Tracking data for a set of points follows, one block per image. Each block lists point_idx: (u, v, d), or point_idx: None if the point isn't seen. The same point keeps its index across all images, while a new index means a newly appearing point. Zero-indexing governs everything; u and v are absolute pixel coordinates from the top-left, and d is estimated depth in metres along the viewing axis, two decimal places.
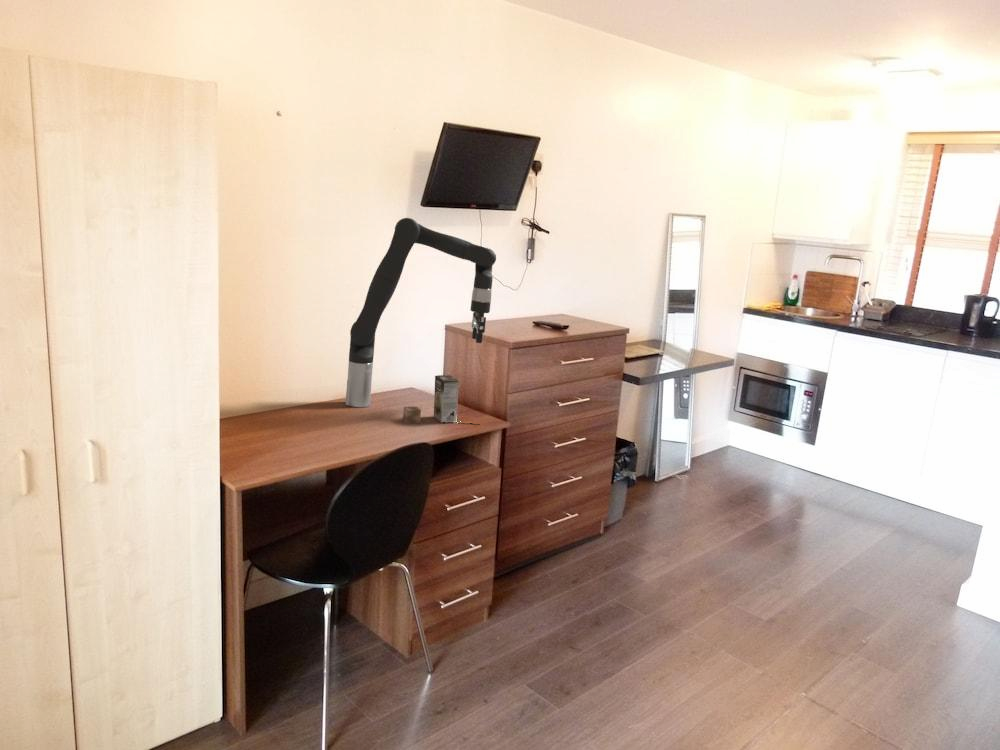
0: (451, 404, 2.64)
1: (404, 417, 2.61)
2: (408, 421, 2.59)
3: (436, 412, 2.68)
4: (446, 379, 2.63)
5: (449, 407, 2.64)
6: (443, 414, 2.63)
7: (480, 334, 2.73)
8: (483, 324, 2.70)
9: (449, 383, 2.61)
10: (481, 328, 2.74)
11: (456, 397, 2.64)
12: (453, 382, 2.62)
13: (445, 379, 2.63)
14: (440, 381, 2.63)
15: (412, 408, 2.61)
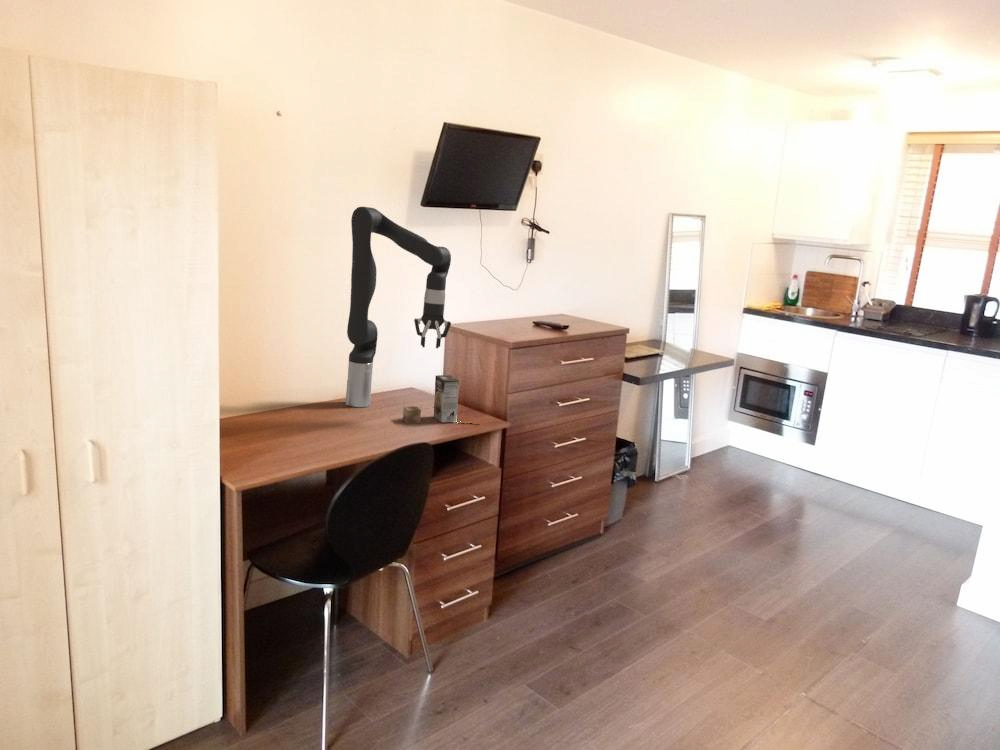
0: (451, 404, 2.64)
1: (404, 417, 2.61)
2: (408, 421, 2.59)
3: (436, 412, 2.68)
4: (446, 379, 2.63)
5: (449, 407, 2.64)
6: (443, 414, 2.63)
7: (440, 339, 2.62)
8: None
9: (449, 383, 2.61)
10: (437, 332, 2.62)
11: (456, 397, 2.64)
12: (453, 382, 2.62)
13: (445, 379, 2.63)
14: (440, 381, 2.63)
15: (412, 408, 2.61)
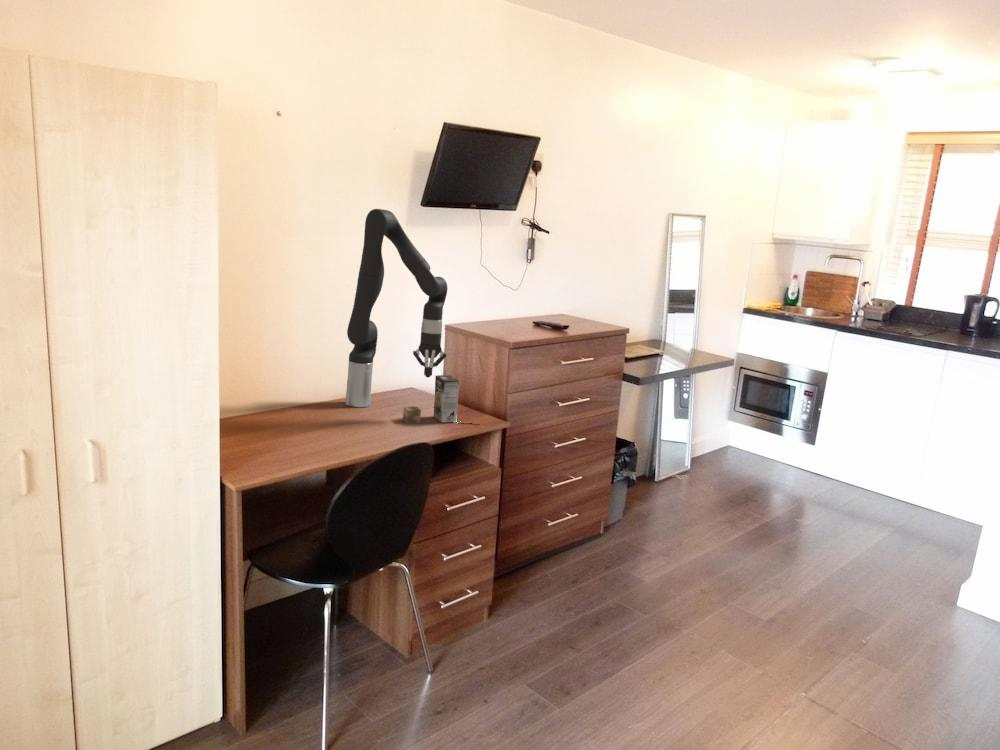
0: (451, 404, 2.64)
1: (404, 417, 2.61)
2: (408, 421, 2.59)
3: (436, 412, 2.68)
4: (446, 379, 2.63)
5: (449, 407, 2.64)
6: (443, 414, 2.63)
7: None
8: None
9: (449, 383, 2.61)
10: (430, 360, 2.64)
11: (456, 397, 2.64)
12: (453, 382, 2.62)
13: (445, 379, 2.63)
14: (440, 381, 2.63)
15: (412, 408, 2.61)
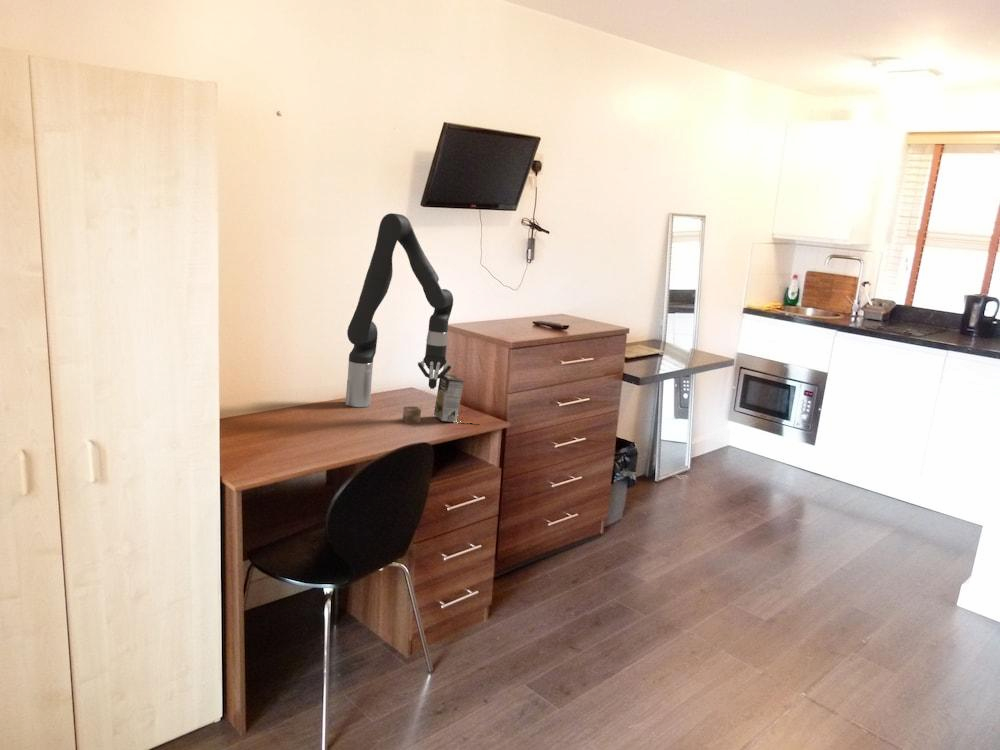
0: (453, 403, 2.64)
1: (404, 417, 2.61)
2: (408, 421, 2.59)
3: (437, 410, 2.68)
4: (451, 378, 2.63)
5: (451, 406, 2.64)
6: (444, 413, 2.63)
7: (436, 379, 2.65)
8: None
9: (454, 382, 2.62)
10: (435, 372, 2.65)
11: (459, 397, 2.64)
12: (458, 382, 2.63)
13: (450, 378, 2.63)
14: (445, 379, 2.63)
15: (412, 408, 2.61)
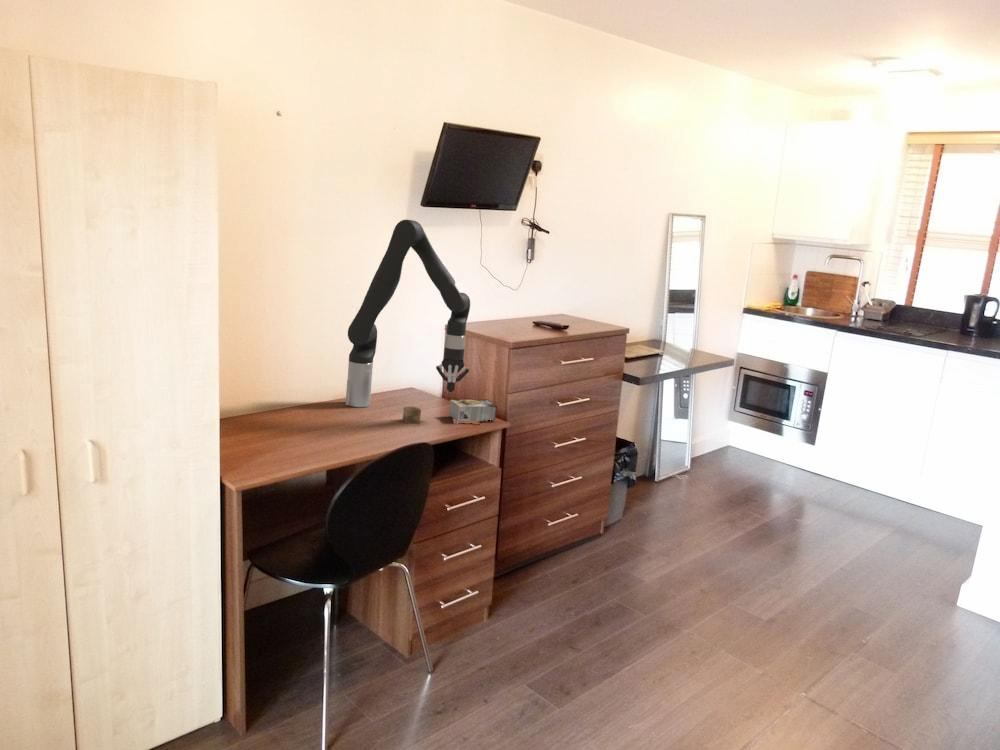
0: (474, 415, 2.69)
1: (404, 417, 2.61)
2: (408, 421, 2.59)
3: (458, 401, 2.71)
4: None
5: (472, 413, 2.68)
6: (466, 407, 2.66)
7: (454, 382, 2.66)
8: None
9: (494, 411, 2.72)
10: (453, 375, 2.66)
11: (480, 419, 2.70)
12: (494, 415, 2.72)
13: None
14: (492, 403, 2.74)
15: (412, 408, 2.61)
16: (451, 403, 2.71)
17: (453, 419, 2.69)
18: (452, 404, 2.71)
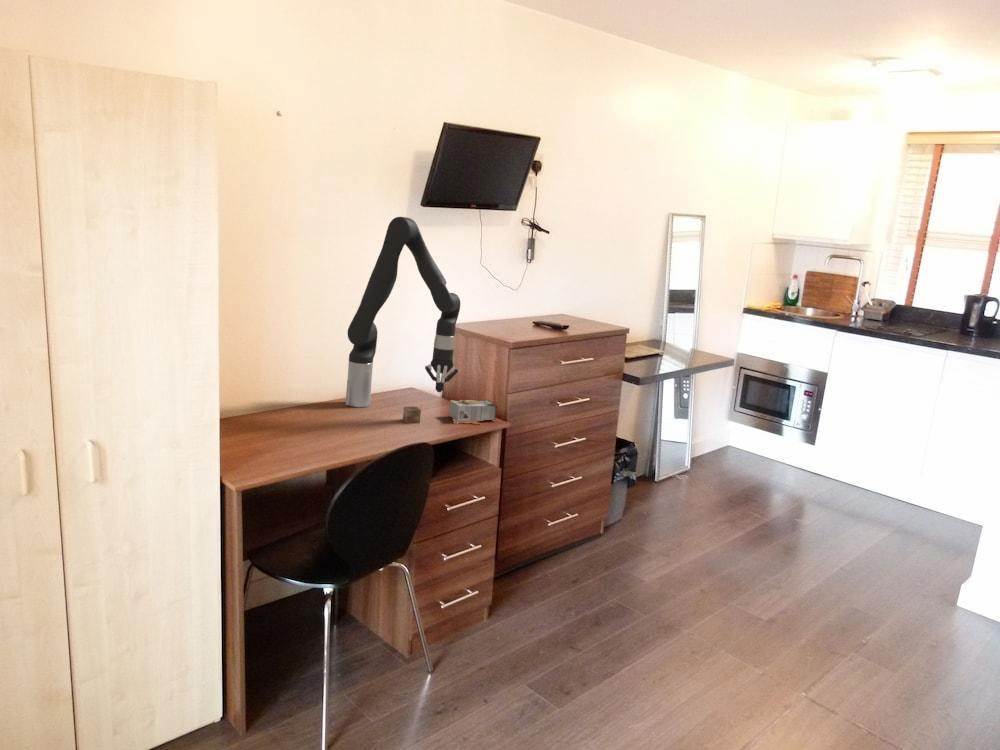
0: (474, 415, 2.69)
1: (404, 417, 2.61)
2: (408, 421, 2.59)
3: (458, 401, 2.71)
4: None
5: (472, 413, 2.68)
6: (466, 407, 2.66)
7: (443, 383, 2.66)
8: None
9: (494, 411, 2.72)
10: (442, 375, 2.66)
11: (480, 419, 2.70)
12: (494, 415, 2.72)
13: None
14: (492, 403, 2.74)
15: (412, 408, 2.61)
16: (451, 403, 2.72)
17: (453, 419, 2.69)
18: (451, 404, 2.71)
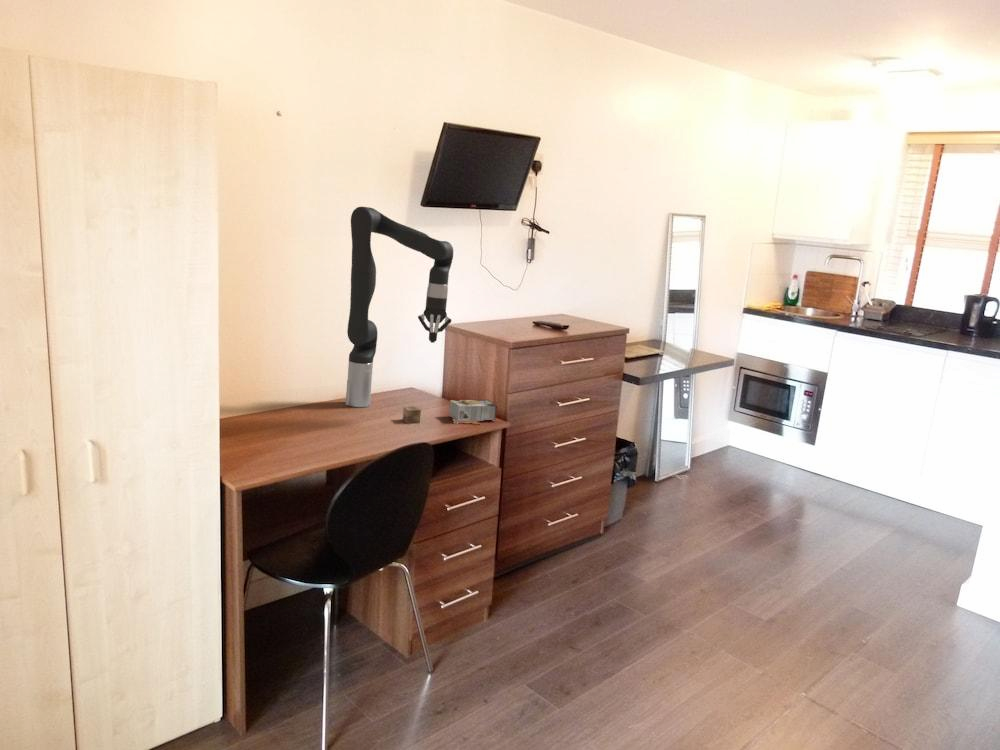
0: (474, 415, 2.69)
1: (404, 417, 2.61)
2: (408, 421, 2.59)
3: (458, 401, 2.71)
4: None
5: (472, 413, 2.68)
6: (466, 407, 2.66)
7: None
8: None
9: (494, 411, 2.72)
10: None
11: (480, 419, 2.70)
12: (494, 415, 2.72)
13: None
14: (492, 403, 2.74)
15: (412, 408, 2.61)
16: (451, 403, 2.72)
17: (453, 419, 2.69)
18: (451, 404, 2.71)
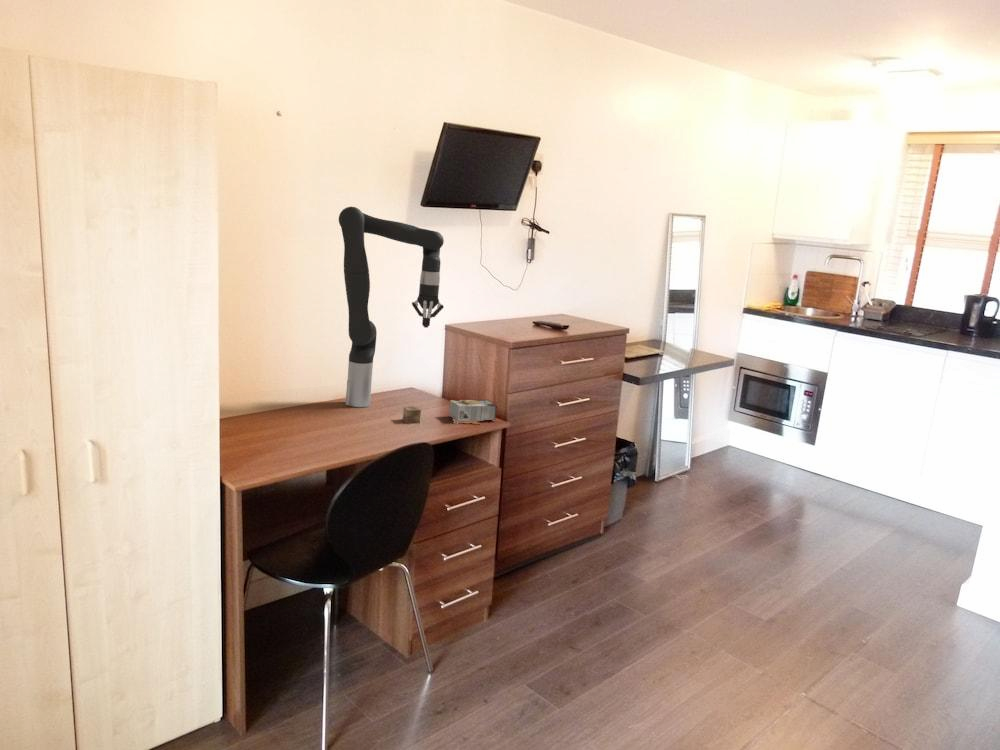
0: (474, 415, 2.69)
1: (404, 417, 2.61)
2: (408, 421, 2.59)
3: (458, 401, 2.71)
4: None
5: (472, 413, 2.68)
6: (466, 407, 2.66)
7: None
8: None
9: (494, 411, 2.72)
10: None
11: (480, 419, 2.70)
12: (494, 415, 2.72)
13: None
14: (492, 403, 2.74)
15: (412, 408, 2.61)
16: (451, 403, 2.72)
17: (453, 419, 2.69)
18: (451, 404, 2.71)
